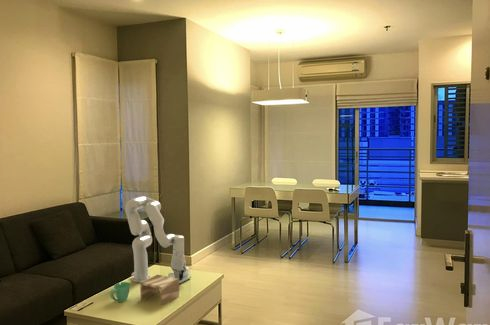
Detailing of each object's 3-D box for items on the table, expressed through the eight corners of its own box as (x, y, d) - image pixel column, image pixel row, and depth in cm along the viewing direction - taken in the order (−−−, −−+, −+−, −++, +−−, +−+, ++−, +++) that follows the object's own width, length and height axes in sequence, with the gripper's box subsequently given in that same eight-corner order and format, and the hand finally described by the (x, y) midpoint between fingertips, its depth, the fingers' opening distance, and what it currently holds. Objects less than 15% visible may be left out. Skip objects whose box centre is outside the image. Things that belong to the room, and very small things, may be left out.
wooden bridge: (140, 299, 257) (140, 282, 257) (157, 291, 271) (157, 274, 271) (162, 305, 249) (162, 286, 248) (179, 296, 263) (178, 278, 262)
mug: (121, 296, 264) (121, 281, 263) (133, 298, 260) (133, 283, 259) (105, 304, 251) (104, 289, 250) (117, 307, 247) (117, 291, 246)
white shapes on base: (165, 284, 281) (165, 273, 280) (183, 275, 298) (183, 265, 297) (173, 286, 277) (173, 275, 277) (191, 277, 294) (191, 267, 294)
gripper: (166, 252, 287) (165, 277, 288) (184, 256, 279) (184, 282, 280) (172, 249, 293) (172, 274, 295) (191, 253, 285) (191, 278, 287)
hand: (178, 278), depth 287 cm, fingers closed on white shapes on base, 4 cm apart
